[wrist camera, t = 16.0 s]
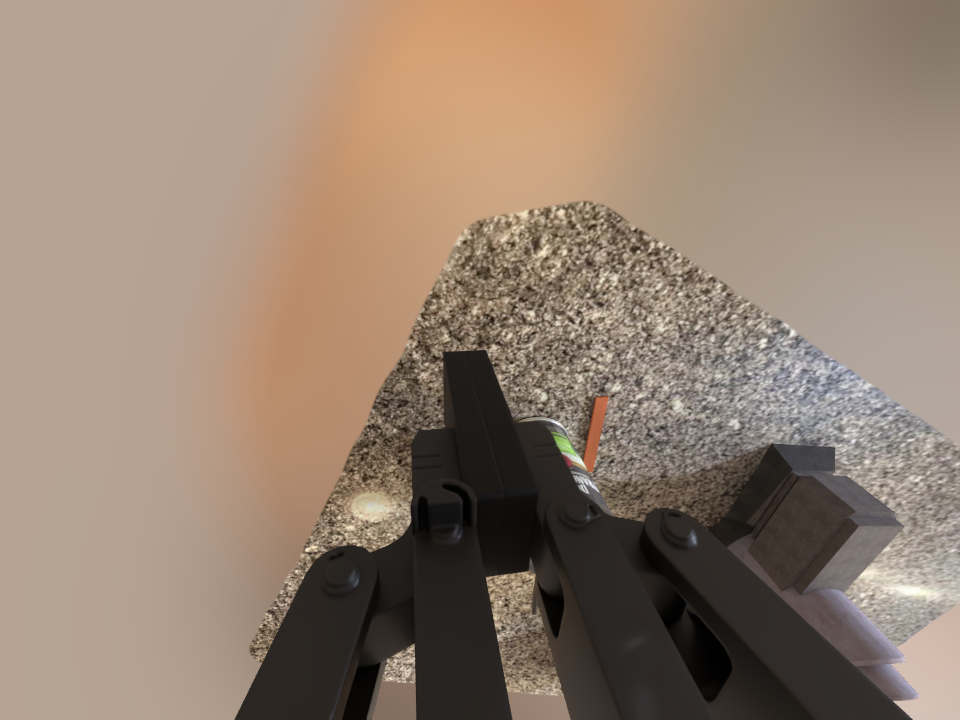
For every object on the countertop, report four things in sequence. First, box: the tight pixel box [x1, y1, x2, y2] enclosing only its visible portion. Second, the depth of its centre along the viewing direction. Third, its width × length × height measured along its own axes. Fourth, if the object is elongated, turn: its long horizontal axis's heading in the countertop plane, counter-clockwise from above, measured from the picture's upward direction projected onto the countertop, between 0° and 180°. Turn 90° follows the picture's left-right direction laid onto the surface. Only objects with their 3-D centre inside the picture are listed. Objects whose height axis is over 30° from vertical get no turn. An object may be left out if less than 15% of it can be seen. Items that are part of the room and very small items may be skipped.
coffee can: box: [517, 417, 615, 574], centre depth 46 cm, size 10×10×14 cm
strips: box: [583, 396, 608, 472], centre depth 51 cm, size 12×19×1 cm, turn 88°
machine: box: [709, 444, 919, 701], centre depth 56 cm, size 30×16×24 cm, turn 169°
